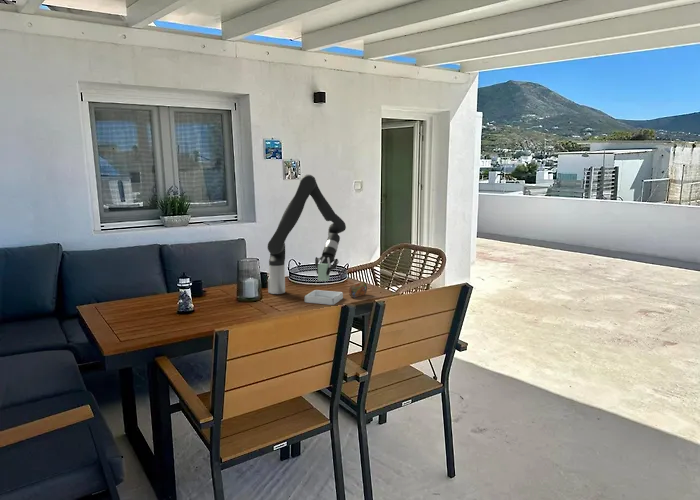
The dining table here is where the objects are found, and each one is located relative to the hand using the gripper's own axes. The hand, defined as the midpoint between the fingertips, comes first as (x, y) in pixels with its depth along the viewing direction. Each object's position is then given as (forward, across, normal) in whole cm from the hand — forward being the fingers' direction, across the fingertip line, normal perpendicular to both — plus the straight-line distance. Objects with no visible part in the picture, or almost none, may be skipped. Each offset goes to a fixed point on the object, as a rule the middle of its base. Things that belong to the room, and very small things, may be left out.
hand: (322, 274), depth 268 cm
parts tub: (+10, 0, +12) cm, 16 cm away
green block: (+1, 0, +4) cm, 4 cm away
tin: (-1, +15, +24) cm, 28 cm away
